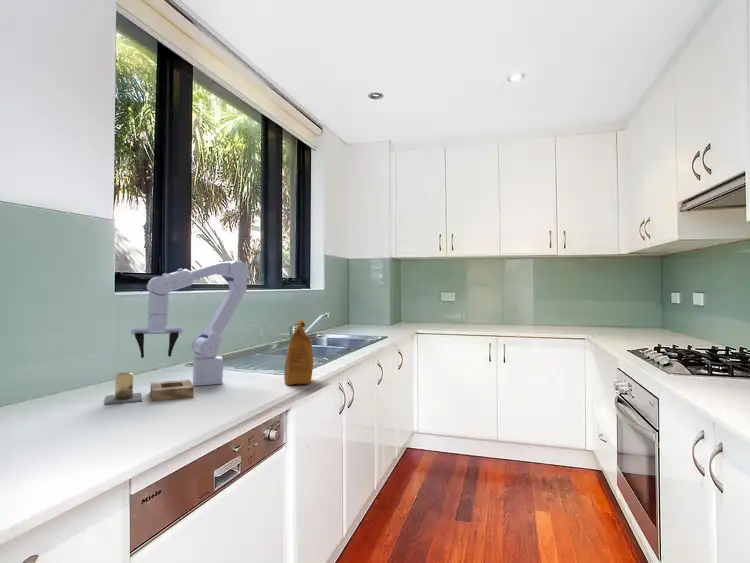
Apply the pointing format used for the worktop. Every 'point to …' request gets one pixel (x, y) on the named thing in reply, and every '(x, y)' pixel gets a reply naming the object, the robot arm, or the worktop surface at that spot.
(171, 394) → the housing
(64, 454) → the worktop surface
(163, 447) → the worktop surface
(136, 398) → the mat
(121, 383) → the end cover
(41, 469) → the worktop surface
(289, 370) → the coffee package
